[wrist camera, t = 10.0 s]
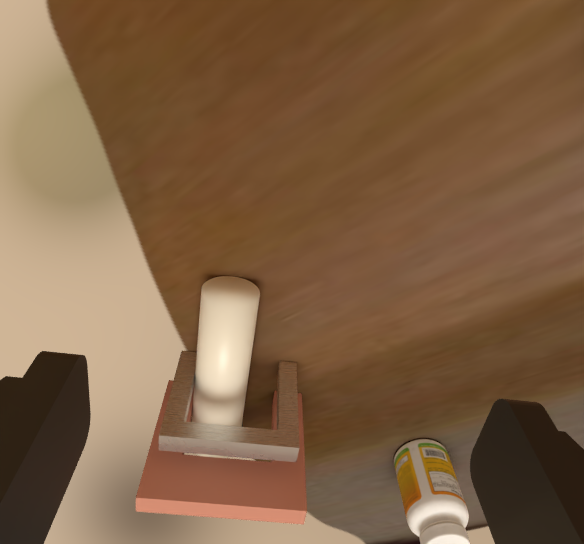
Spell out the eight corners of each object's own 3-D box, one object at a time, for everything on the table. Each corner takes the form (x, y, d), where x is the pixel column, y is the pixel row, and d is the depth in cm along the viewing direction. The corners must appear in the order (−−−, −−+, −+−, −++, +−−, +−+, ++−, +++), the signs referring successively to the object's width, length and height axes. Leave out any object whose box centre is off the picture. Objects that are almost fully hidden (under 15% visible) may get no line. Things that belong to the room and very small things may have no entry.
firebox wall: (301, 393, 47) (306, 511, 37) (294, 428, 50) (297, 549, 39) (168, 380, 46) (135, 497, 36) (167, 416, 49) (136, 537, 38)
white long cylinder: (229, 269, 42) (187, 288, 39) (273, 293, 40) (232, 315, 36) (214, 414, 50) (178, 440, 46) (250, 440, 48) (215, 470, 44)
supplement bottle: (403, 480, 54) (425, 575, 45) (385, 447, 51) (405, 541, 43) (453, 464, 52) (486, 558, 44) (438, 430, 50) (469, 522, 42)
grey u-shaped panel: (296, 362, 46) (299, 448, 37) (294, 375, 46) (296, 462, 38) (181, 350, 45) (158, 435, 37) (181, 364, 46) (158, 450, 37)
